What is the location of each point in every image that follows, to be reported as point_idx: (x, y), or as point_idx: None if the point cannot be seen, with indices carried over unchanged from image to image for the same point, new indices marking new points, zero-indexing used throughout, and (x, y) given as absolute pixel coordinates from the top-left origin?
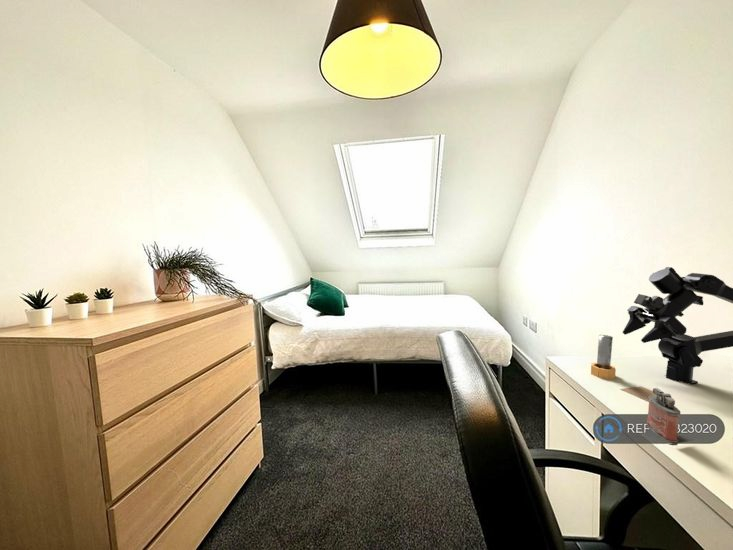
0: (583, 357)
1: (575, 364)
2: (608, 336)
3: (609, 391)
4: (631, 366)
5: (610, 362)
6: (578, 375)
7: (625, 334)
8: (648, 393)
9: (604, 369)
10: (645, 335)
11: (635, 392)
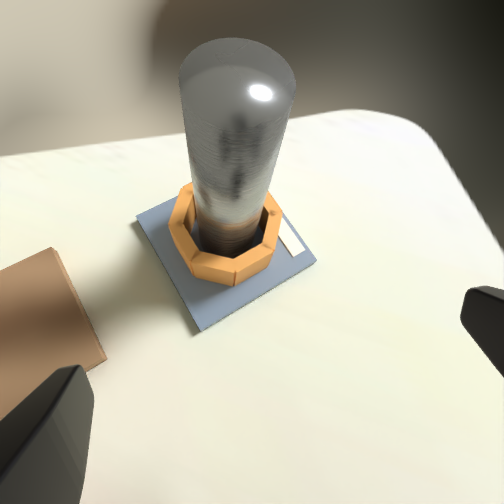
0: (487, 243)
1: (358, 182)
2: (240, 100)
3: (55, 214)
4: (461, 449)
5: (213, 232)
6: None
7: (463, 324)
8: (10, 356)
9: (175, 208)
10: (18, 435)
11: (17, 300)
